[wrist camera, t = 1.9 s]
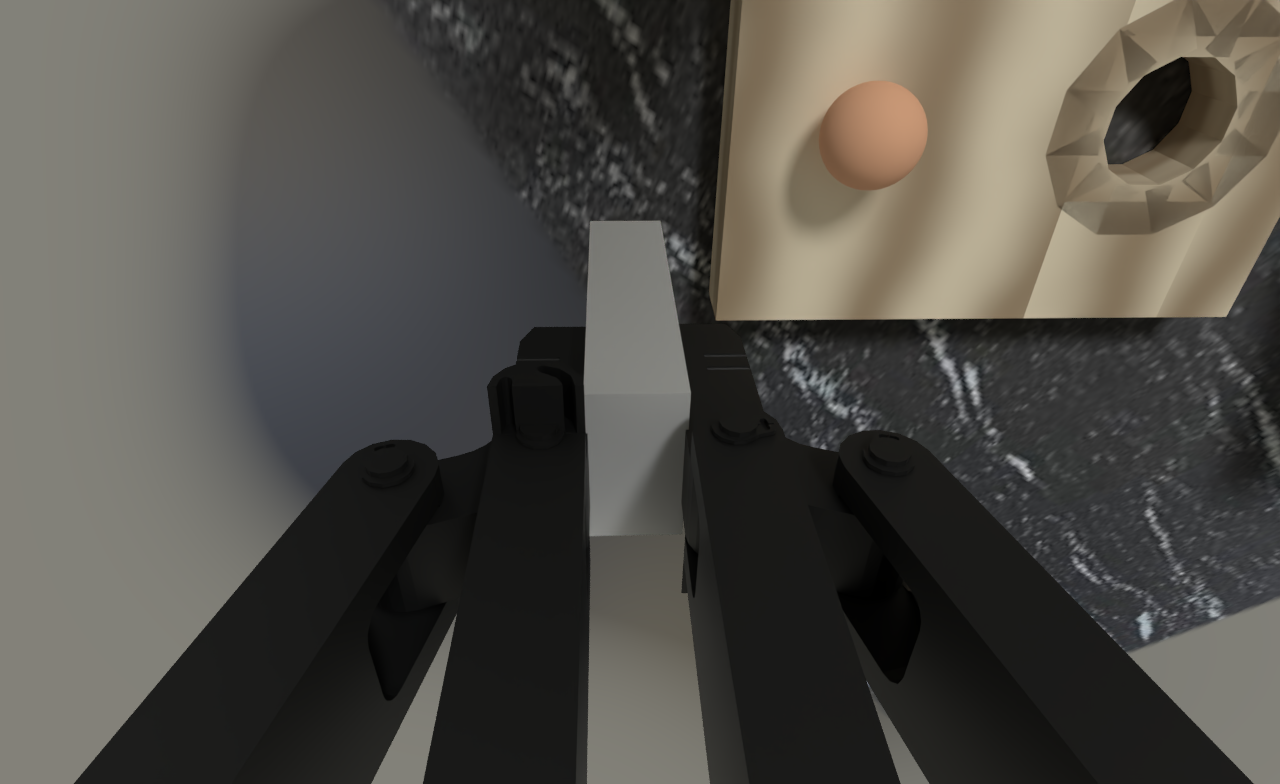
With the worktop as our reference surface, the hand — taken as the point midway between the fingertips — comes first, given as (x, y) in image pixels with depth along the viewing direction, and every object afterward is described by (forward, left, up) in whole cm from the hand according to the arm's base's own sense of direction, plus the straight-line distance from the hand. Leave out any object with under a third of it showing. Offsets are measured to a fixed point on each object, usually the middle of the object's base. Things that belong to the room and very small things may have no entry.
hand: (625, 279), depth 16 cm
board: (0, +15, -14) cm, 21 cm away
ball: (0, +9, -10) cm, 13 cm away
